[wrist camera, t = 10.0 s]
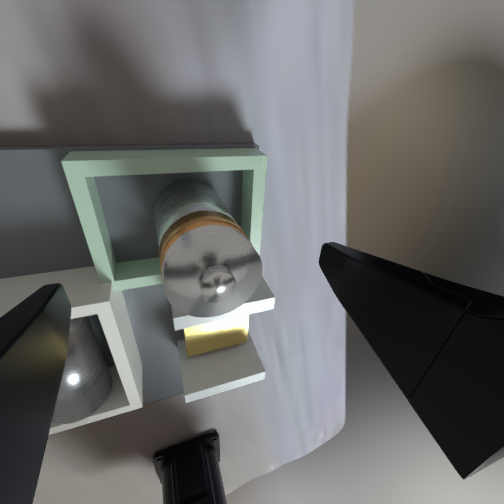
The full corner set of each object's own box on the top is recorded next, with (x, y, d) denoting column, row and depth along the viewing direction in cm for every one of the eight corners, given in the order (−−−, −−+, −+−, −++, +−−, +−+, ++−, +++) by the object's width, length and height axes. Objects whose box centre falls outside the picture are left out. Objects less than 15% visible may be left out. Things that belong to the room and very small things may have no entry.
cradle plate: (242, 330, 19) (247, 341, 18) (185, 344, 18) (187, 357, 17) (244, 279, 17) (250, 290, 16) (178, 291, 15) (180, 303, 15)
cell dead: (113, 360, 18) (111, 410, 15) (52, 376, 16) (38, 434, 14) (85, 282, 14) (76, 330, 11) (5, 296, 13) (-26, 353, 10)
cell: (221, 236, 15) (264, 315, 10) (158, 244, 14) (171, 337, 9) (220, 176, 13) (272, 236, 8) (148, 180, 12) (156, 252, 7)
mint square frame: (242, 369, 24) (261, 421, 20) (54, 422, 19) (35, 502, 16) (254, 143, 14) (296, 167, 10) (-132, 148, 9) (-304, 193, 6)
